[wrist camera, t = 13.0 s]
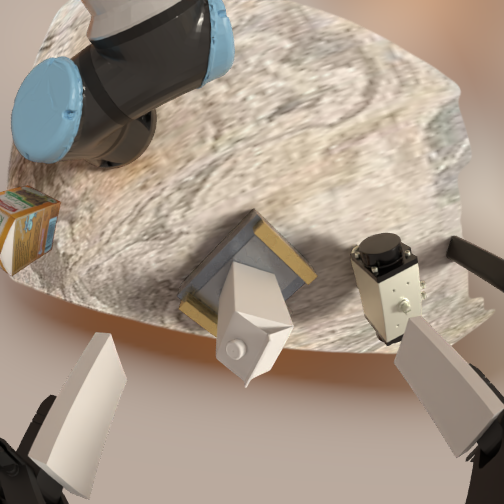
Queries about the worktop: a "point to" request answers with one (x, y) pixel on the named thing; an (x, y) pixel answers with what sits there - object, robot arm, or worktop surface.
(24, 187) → the milk carton
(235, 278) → the milk carton
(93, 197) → the worktop surface
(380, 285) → the ball valve
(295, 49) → the worktop surface
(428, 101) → the worktop surface
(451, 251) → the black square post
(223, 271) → the grey tray
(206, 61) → the robot arm
